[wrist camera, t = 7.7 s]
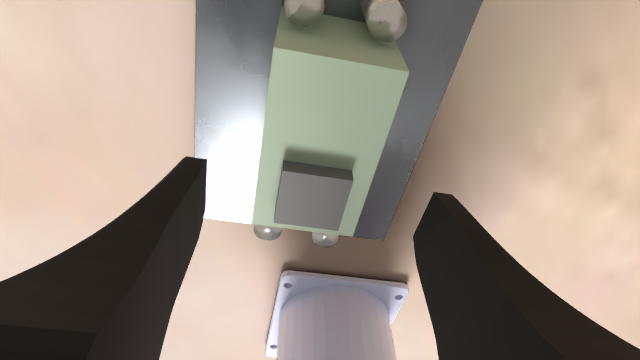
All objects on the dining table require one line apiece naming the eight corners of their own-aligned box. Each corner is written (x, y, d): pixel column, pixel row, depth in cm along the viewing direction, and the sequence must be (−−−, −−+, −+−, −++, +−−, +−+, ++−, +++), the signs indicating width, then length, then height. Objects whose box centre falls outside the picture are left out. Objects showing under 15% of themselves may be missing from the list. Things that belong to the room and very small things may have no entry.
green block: (345, 175, 19) (353, 248, 16) (261, 162, 19) (249, 235, 15) (389, 27, 15) (413, 80, 12) (281, 6, 15) (272, 55, 11)
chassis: (381, 229, 23) (390, 277, 20) (197, 206, 22) (182, 254, 19) (493, -51, 14) (533, -30, 12) (202, -117, 13) (175, -110, 10)
